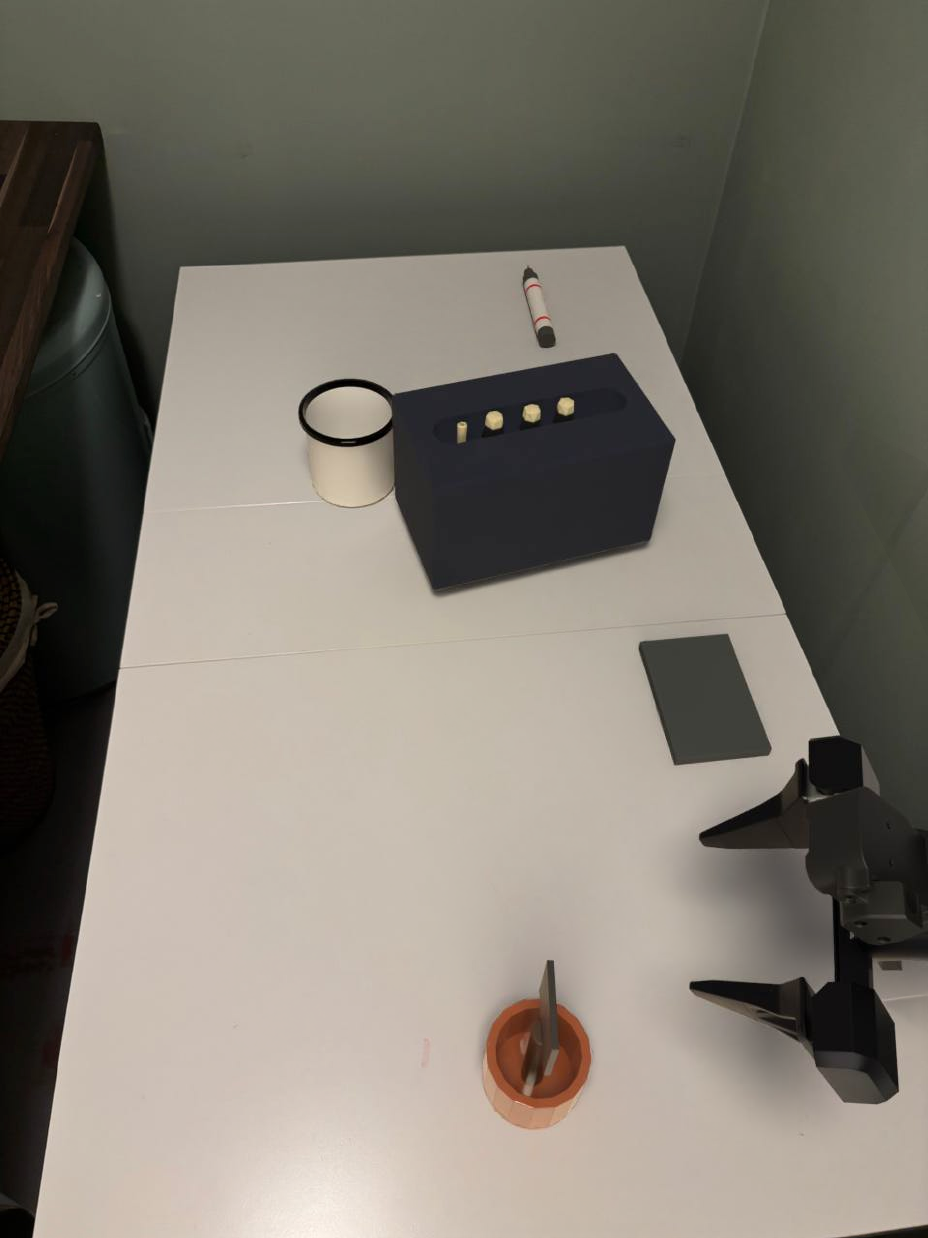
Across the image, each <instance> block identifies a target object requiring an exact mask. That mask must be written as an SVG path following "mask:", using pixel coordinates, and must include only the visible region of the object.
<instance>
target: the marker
mask: <svg viewBox="0 0 928 1238" xmlns="http://www.w3.org/2000/svg"><path fill="white" fill-rule="evenodd" d="M522 283H523V288H524V292H525V295H526V299H527V303H528V306H529V310H530V313H531V317H532V321H533V324H534V329H535V333H536V336H537V338H538V342H539V345H540V347H542V348H552V347H553V346H554V345H555V343H556V340H557V338H556V335H555V334H556V333H555V330H554V326H553V323H552V319H551V317H550V313H549V309H548V306H547V302H546V299H545V295H544V292H543V288H542V285H541V282H540V279H539V276H538V274H537V272H535V271H534V269H533V268H532V267H530V266H529V264H527V267H526V268H525V269H524V270H523V276H522Z"/></svg>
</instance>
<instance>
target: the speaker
mask: <svg viewBox="0 0 928 1238" xmlns="http://www.w3.org/2000/svg"><path fill="white" fill-rule="evenodd" d="M392 395H393V396H392V397H391V398H392V424H393V450H394V477H395V482H394V499H395V501H396V504H397V506H398V508H399V511H400V513H401V515H402V518H403V520H404V522H405V525H406V528H407V530H408V532H409V535H410V537H411V540H412V542H413V545H414V548H415V549H416V552H417V554H418V557H419V559H420V561H421V565H422V566H423V569H424V572H425V574H426V576H427V579H428V581H429V584H430V586H431V589H432V590H434V591H441V590H445V589H449V588H453V587H456V586H462V585H466V584H470V583H471V584H472V583H475V582H479V581H483V580H488V579H491V578H497V577H501V576H505V575H509V574H513V573H517V572H522V571H526V570H531V569H535V568H539V567H542V566H547V565H548V566H549V565H551V564H556V563H561V562H566V561H568V560H574V559H577V558H582V557H585V556H591V555H594V554H598V553H603V552H607V551H612V550H617V549H620V548H624V547H625V548H626V547H628V546H633V545H637V544H641V543H646V542H649V541H650V540H651V539H652V535H653V531H654V528H655V523H656V520H657V516H658V512H659V507H660V503H661V499H662V496H663V492H664V487H665V484H666V481H667V480H666V479H667V476H668V472H669V468H670V464H671V460H672V457H673V453H674V448H675V446H676V445H675V444H676V442H677V440H676V438H675V436H674V435H673V433H672V432H671V430H670V428H669V427H668V425H666V423H665V421H664V420H663V419H662V417H661V415H660V414H659V413H658V411H657V410H656V408H655V407H654V405H653V404H652V403H651V401H650V400H649V398H648V397H647V395H646V394H645V392H644V391H643V389H642V388H641V387H640V385H639V384H638V382H637V381H636V380H635V378H634V377H633V375H632V374H631V372H630V371H629V369H628V367H627V366H626V365H625V363H624V362H623V361H622V359H621V358H620V356H619V355H618V354H617V353H615V352H611V353H604V354H600V355H594V356H588V357H584V358H577V359H573V360H567V361H562V362H557V363H550V364H547V365H541V366H535V367H529V368H524V369H519V370H514V371H509V372H504V373H498V374H497V373H496V374H492V375H487V376H482V377H476V378H472V379H471V378H470V379H467V380H461V381H455V382H450V383H444V384H438V385H433V386H428V387H422V388H418V389H412V390H407V391H406V390H405V391H402V392H396V393H394V394H392Z"/></svg>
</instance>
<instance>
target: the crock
mask: <svg viewBox="0 0 928 1238" xmlns="http://www.w3.org/2000/svg"><path fill="white" fill-rule="evenodd" d="M540 1019H541V1017H540V998H526V999H525V998H524V999H521V1000H519V1001H517V1002H515V1003H513V1004H511V1005H509V1006H507V1007H506V1008H505V1009H503V1010H502V1011H501V1013H500V1014H499V1015H498V1016H497V1018H496V1019H495V1020H494V1021H493V1022H492V1024H491V1027H490V1029H489V1033H488V1036H487V1039H486V1043H485V1048H484V1055H483V1061H482V1082H483V1088H484V1091H485V1095H486V1097H487V1100H488V1101H489V1103H490V1105H491V1106H492V1108H493V1109H494V1110H495V1112H496V1113H497V1114H498V1115H499V1116H500V1117H501V1118H502V1119H504V1120H505V1121H506V1122H508V1123H510V1124H512V1125H514V1126H516V1127H518V1128H521V1129H526V1130H541V1129H546V1128H550V1127H552V1126H554V1125H556V1124H558V1123H559V1122H561V1121H562V1120H563V1119H564V1118H566V1117H567V1116H568V1114H569V1113H570V1112H571V1111H572V1109H573V1108H574V1106H575V1105H576V1104H577V1102H578V1100H579V1098H580V1095H581V1094H582V1092H583V1090H584V1087H585V1085H586V1083H587V1080H588V1077H589V1072H590V1070H591V1069H590V1068H591V1065H592V1052H591V1045H590V1039H589V1036H588V1034H587V1032H586V1031H585V1029H584V1027H583V1024H582V1023H581V1021H580V1019H579V1018H578V1017H576V1015H574V1013H572V1012H571V1011H570V1010H568V1009H567V1008H566V1007H565V1006H564V1005H562V1004H561V1003H557V1019H558V1035H559V1052H558V1055H557V1058H556V1061H555V1064H554V1066H553V1069H552V1072H551V1075H550V1076H544V1077H543V1080H542V1081H541V1083H539V1084H538V1085H536V1086H530V1085H527V1084H526V1083H525V1082H524V1081H523V1080H522V1078H521V1068H522V1064H523V1061H524V1057H525V1053H526V1049H527V1046H528V1042H529V1038H530V1034H531V1030H532V1027H533V1025H534V1023H535V1022H536V1021H538V1020H540Z"/></svg>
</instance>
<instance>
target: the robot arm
mask: <svg viewBox="0 0 928 1238" xmlns="http://www.w3.org/2000/svg"><path fill="white" fill-rule="evenodd" d="M807 743H808V744H807V746H808V748H807V751H808V762H807V760H806V759H805V758H804V757H801V758H799V759H798V760H797V761H795V763H794V771H793V773H792V776H791V777H790V779H789V780H788V781H787V783H786V784H785V785H784V787H783V788H782V789H781V791H779V792H778V793H777V794H774V795H773V796H772V797H770V798H768V799H767V800H765V801H764V802H762V803H759V804H758V805H756V806H754V807H752V808H750V809H748V810H745V811H743V812H742V813H739V814H737V815H735V816H733V817H731V818H728V819H727V820H724V821H722V822H720V823H717V824H716V825H713V826H711V827H709V828H707V829H705V830H702V831H701V832H699V834H698V841H699V842H700V843H701V845H702V846H703V847H705V848H713V849H723V850H781V849H782V850H802V849H803V850H807V849H808V851H807V853H806V855H805V856H804V864H805V865H804V866H805V872H806V875H807V878H808V880H809V882H810V883H811V885H812V886H813V887H814V888H815V889H816V890H817V891H818V892H819V893H821V894H823V895H826V896H827V895H828V896H830V897H831V899H832V900H831V904H832V906H831V907H832V937H833V938H832V939H833V941H832V942H833V973H834V974H833V976H834V981H827V982H826V983H824V984H823V986H822V987H821V988H819V989H818V990H817V992H815V990H814V989H813V987H812V986H811V985H810V983H809V981H808V980H807V979H806V977H805V976H798V977H796V978H793V979H791V980H788V981H785V982H783V983H766V982H755V981H754V982H752V981H740V980H739V981H738V980H725V979H705V980H703V979H702V980H692V981H690V982H689V984H688V990H689V991H690V992H691V993H692V994H693V995H694V996H696V997H698V998H700V999H702V1000H704V1001H707V1002H710V1003H712V1004H714V1005H717V1006H720V1007H722V1008H724V1009H727V1010H729V1011H731V1012H734V1013H736V1014H738V1015H741V1016H743V1017H745V1018H748V1019H751V1020H752V1021H755V1022H758V1023H759V1024H762V1025H765V1026H767V1027H769V1028H771V1029H774V1030H775V1031H777V1032H779V1033H781V1034H783V1035H785V1036H786V1037H788V1038H790V1039H792V1040H793V1041H795V1042H797V1043H799V1044H801V1045H802V1047H803V1048H804V1049H805V1051H806V1052H807V1053H808V1055H810V1057H811V1059H812V1060H813V1061H814V1064H815V1069H817V1071H818V1072H819V1073H820V1074H821V1076H822V1077H823V1078H824V1080H825V1081H826V1082H827V1084H829V1086H830V1087H831V1089H833V1091H834V1092H835V1094H836V1095H837V1096H838V1097H839V1098H840V1100H841V1101H842V1102H843V1103H847V1104H862V1105H880V1104H884V1103H886V1102H888V1101H889V1100H891V1099H892V1098H894V1096H895V1095H897V1094H898V1093H899V1092H900V1082H899V1081H900V1080H899V1069H898V1068H899V1066H898V1052H897V1039H896V1038H897V1036H896V1035H897V1034H896V1023H895V1021H894V1019H893V1018H892V1016H891V1015H890V1013H889V1011H888V1010H887V1009H888V1008H886V1006H885V1004H884V1003H883V1001H882V1000H881V998H880V996H879V995H878V992H877V991H876V990H875V984H874V967H873V965H874V964H873V962H877V964H878V965H879V967H880V969H881V970H882V971H903V962H916V961H917V962H919V961H921V962H924V961H927V962H928V829H922V828H917V827H913V825H912V824H911V822H910V820H908V818H907V817H906V816H905V814H903V813H902V812H901V811H899V810H898V809H897V808H896V807H894V806H893V805H892V804H890V803H889V802H888V801H887V800H885V798H883V797H881V791H880V789H881V787H880V782H879V780H878V777H877V776H876V773H875V772H874V769H873V767H872V764H871V762H870V760H869V759H868V756H867V753H866V751H865V749H864V747H863V745H862V744H861V743H860V742H857V741H855V740H853V739H852V738H848V737H845V736H842V735H837V734H836V735H829V736H821V737H813V738H810V739H809V740H808V742H807ZM851 934H852V937H851Z"/></svg>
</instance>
